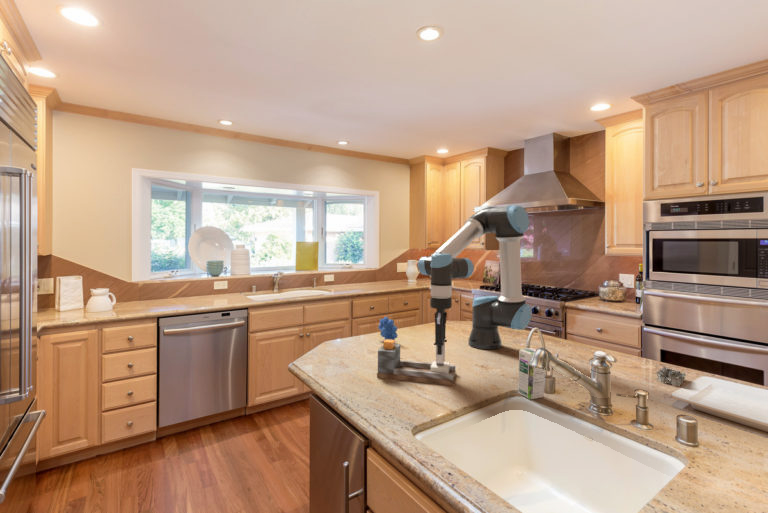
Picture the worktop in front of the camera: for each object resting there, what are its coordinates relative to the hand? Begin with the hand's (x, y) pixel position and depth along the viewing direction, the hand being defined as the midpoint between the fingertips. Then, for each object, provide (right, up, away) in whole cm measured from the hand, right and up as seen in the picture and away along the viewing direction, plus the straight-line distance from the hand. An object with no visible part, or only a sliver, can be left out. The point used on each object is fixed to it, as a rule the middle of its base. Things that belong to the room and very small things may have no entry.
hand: (440, 361), depth 136 cm
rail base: (-8, -6, +3) cm, 10 cm away
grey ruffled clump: (+82, -7, -2) cm, 82 cm away
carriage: (0, -4, 0) cm, 4 cm away
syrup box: (+27, -7, -15) cm, 31 cm away
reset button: (-18, +3, +5) cm, 19 cm away
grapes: (-19, -4, +47) cm, 51 cm away
